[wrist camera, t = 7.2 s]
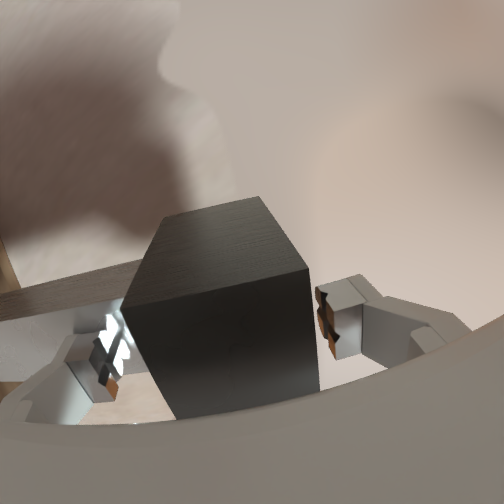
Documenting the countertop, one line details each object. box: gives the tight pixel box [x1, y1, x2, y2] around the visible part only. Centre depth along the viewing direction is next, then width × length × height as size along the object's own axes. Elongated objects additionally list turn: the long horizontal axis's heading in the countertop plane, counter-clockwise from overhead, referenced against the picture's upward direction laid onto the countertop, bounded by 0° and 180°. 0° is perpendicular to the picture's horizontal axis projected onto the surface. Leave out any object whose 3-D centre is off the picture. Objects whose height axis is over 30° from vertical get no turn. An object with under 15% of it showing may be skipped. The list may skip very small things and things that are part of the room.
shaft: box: [0, 196, 320, 420], centre depth 10 cm, size 5×20×7 cm, turn 101°
